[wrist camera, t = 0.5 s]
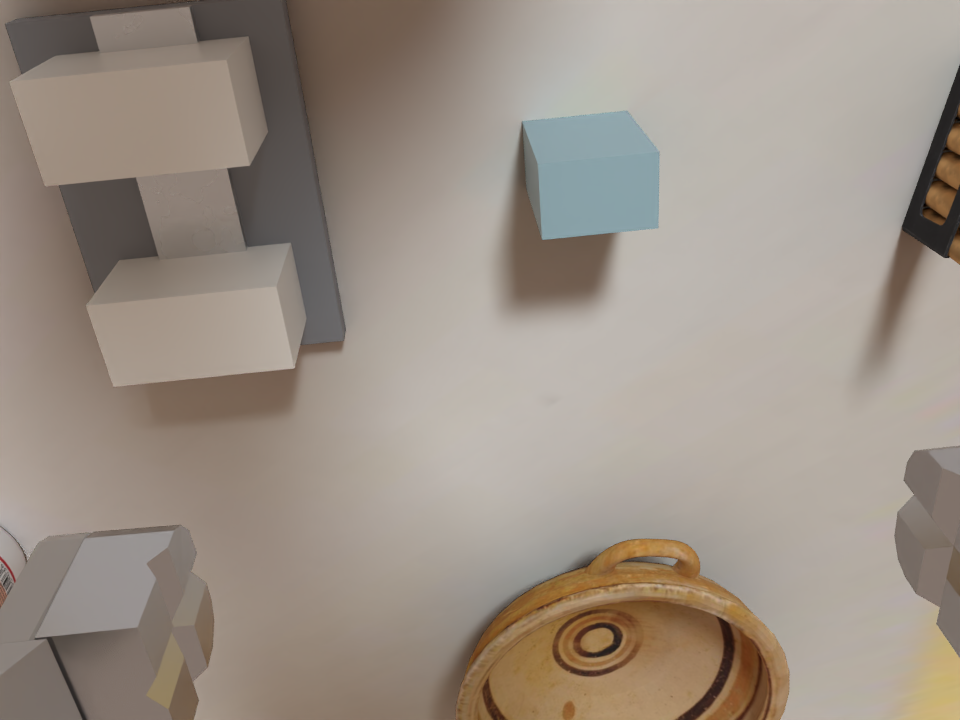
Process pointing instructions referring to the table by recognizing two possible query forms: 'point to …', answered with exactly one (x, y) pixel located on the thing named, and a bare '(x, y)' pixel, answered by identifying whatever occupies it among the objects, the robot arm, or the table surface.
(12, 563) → the fruit juice
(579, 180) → the block
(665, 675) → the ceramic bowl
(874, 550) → the table surface
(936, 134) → the ammunition clip
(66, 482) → the table surface
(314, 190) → the board
